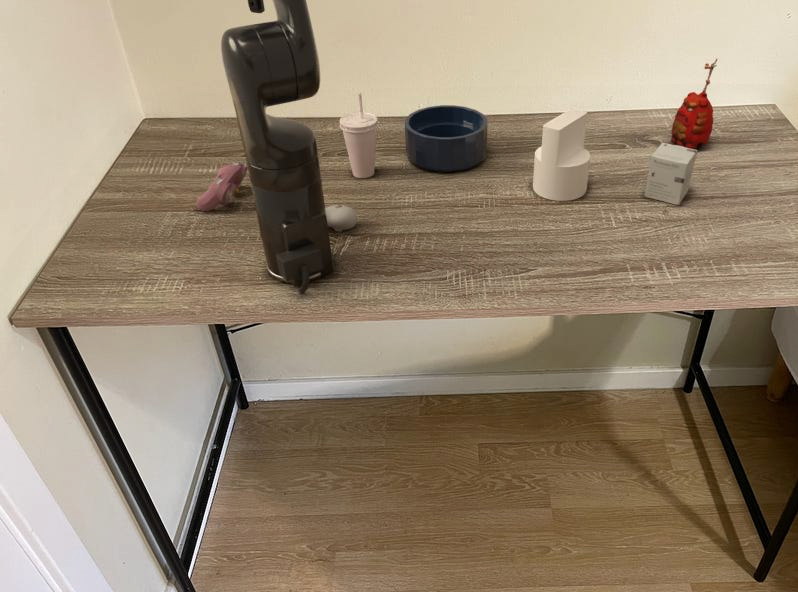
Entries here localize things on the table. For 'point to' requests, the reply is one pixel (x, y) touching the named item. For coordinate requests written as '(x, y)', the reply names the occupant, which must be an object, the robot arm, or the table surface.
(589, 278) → the table surface
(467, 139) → the bowl
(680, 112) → the red clay folk toy
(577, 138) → the base with upright slab
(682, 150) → the product carton
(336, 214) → the white head bust
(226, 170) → the video game controller
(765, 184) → the table surface
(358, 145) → the smoothie
